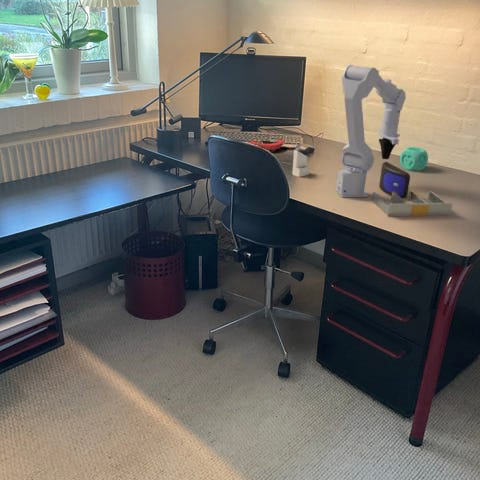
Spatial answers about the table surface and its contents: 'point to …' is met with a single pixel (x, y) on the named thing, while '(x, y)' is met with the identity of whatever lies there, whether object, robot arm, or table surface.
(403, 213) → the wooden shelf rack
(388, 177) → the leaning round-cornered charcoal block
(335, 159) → the table surface
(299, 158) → the white wedge bracket
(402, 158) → the decorative dice
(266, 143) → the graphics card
